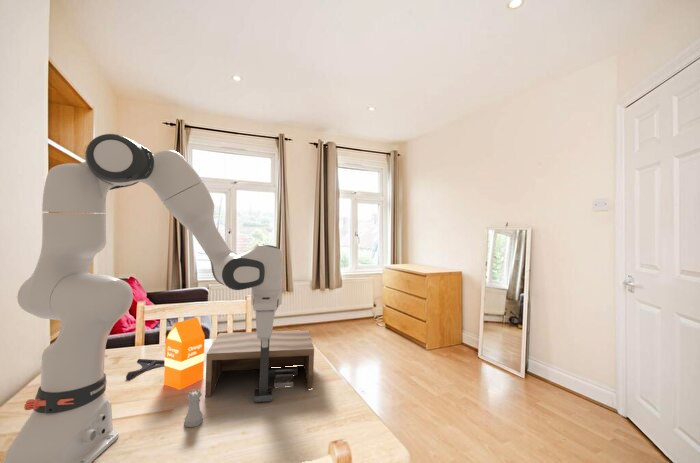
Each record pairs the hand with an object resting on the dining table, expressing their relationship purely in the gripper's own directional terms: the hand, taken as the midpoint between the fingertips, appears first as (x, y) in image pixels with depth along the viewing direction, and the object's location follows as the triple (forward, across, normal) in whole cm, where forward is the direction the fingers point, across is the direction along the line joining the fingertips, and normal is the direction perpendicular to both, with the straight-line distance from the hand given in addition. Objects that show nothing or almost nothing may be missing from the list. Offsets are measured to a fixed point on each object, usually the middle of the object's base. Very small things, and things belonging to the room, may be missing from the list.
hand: (265, 344), depth 96 cm
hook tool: (+16, -6, +4) cm, 17 cm away
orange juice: (+16, -15, -26) cm, 34 cm away
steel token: (+16, -9, +6) cm, 20 cm away
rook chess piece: (+16, +10, -17) cm, 25 cm away
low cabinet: (+16, -13, -1) cm, 21 cm away
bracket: (+17, -26, -42) cm, 52 cm away
